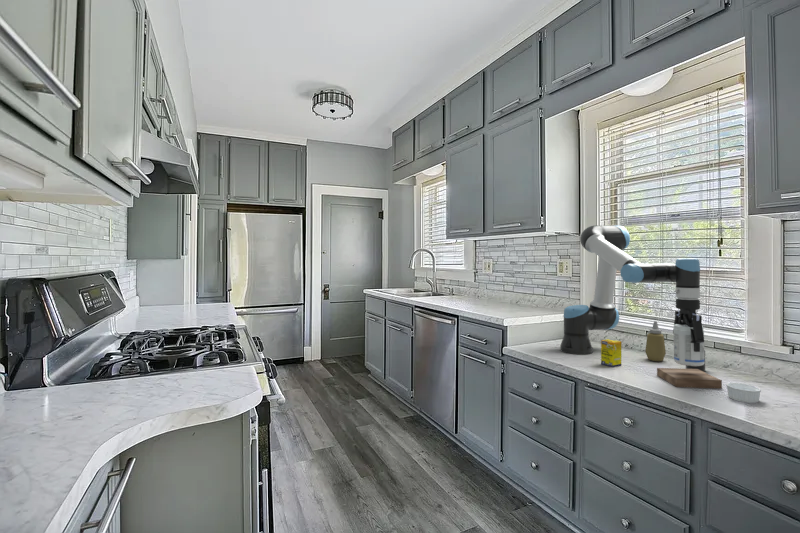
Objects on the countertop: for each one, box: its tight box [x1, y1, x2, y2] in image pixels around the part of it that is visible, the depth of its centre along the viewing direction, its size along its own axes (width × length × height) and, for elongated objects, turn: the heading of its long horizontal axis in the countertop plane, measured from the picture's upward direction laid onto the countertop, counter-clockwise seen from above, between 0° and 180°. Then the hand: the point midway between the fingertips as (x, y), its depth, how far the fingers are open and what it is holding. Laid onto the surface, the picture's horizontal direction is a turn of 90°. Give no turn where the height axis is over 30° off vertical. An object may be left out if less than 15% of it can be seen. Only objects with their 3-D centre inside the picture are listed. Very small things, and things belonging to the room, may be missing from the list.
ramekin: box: [725, 382, 762, 404], centre depth 134 cm, size 9×9×4 cm
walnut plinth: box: [656, 367, 723, 390], centre depth 153 cm, size 15×15×3 cm
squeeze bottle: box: [645, 321, 667, 362], centre depth 185 cm, size 8×8×18 cm
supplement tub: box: [672, 324, 706, 366], centre depth 153 cm, size 10×10×15 cm
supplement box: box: [600, 338, 622, 368], centre depth 178 cm, size 6×6×11 cm
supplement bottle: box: [685, 349, 706, 372], centre depth 169 cm, size 7×7×12 cm
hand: (687, 356), depth 153 cm, fingers closed on supplement tub, 9 cm apart
